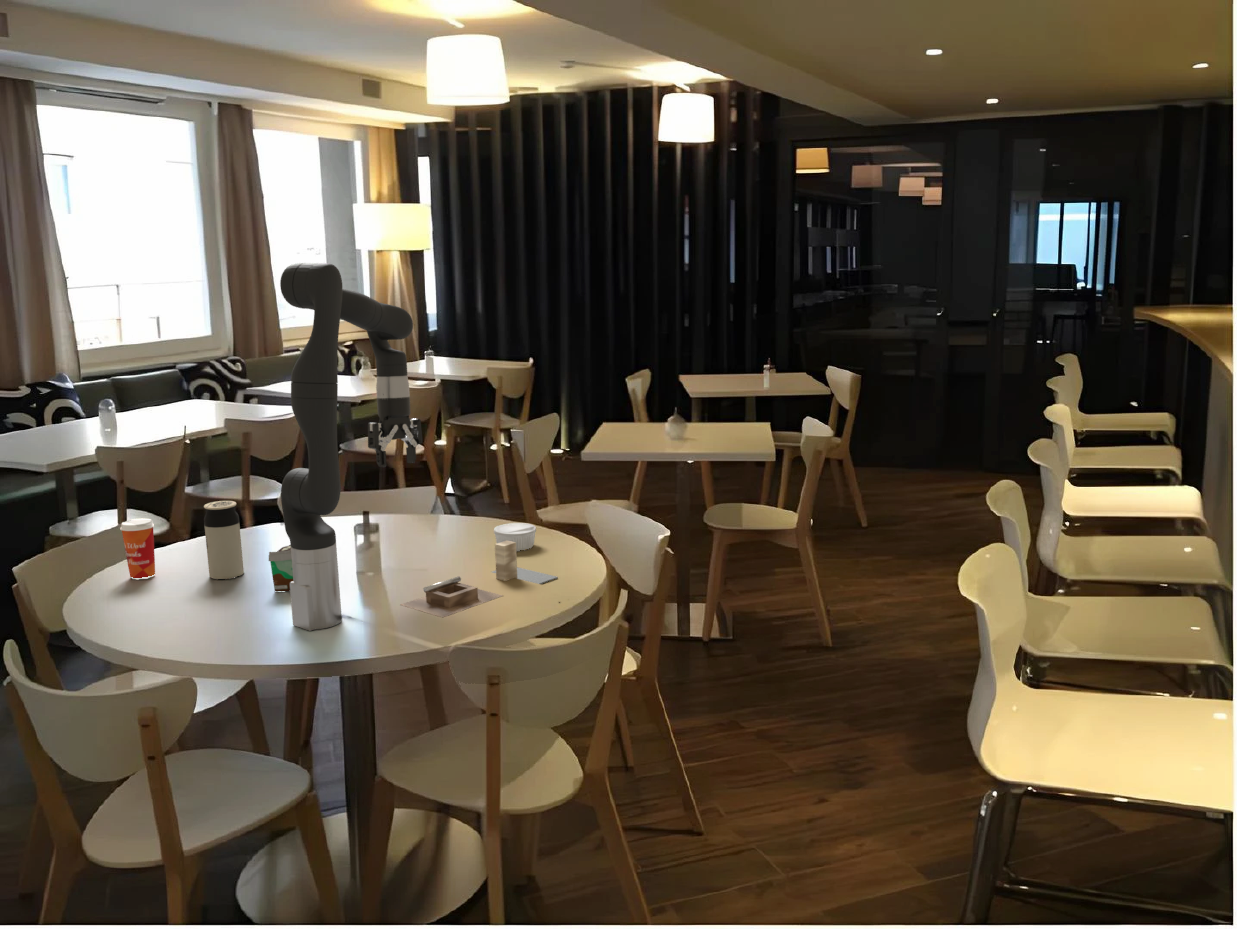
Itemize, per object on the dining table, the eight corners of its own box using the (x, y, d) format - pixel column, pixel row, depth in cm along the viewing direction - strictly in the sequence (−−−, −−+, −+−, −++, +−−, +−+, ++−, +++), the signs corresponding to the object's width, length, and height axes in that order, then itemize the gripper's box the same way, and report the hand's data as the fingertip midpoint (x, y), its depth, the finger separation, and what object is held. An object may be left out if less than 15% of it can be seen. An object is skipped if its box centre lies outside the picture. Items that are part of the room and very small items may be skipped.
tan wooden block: (505, 583, 252) (503, 546, 250) (496, 581, 254) (494, 544, 252) (517, 579, 255) (516, 542, 253) (508, 576, 257) (507, 540, 255)
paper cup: (118, 580, 262) (112, 524, 259) (141, 571, 269) (135, 517, 266) (145, 582, 259) (139, 526, 257) (167, 573, 267) (161, 518, 264)
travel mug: (248, 570, 268) (242, 500, 264) (236, 580, 260) (230, 507, 256) (217, 570, 268) (210, 500, 264) (204, 580, 260) (197, 508, 257)
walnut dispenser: (442, 621, 228) (441, 600, 227) (400, 609, 236) (398, 588, 235) (503, 599, 241) (502, 579, 240) (461, 588, 250) (460, 569, 249)
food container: (295, 595, 247) (292, 553, 245) (271, 594, 249) (267, 552, 247) (320, 579, 259) (317, 539, 257) (297, 578, 260) (294, 538, 258)
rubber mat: (503, 597, 242) (503, 596, 242) (455, 585, 253) (455, 583, 252) (557, 578, 256) (557, 576, 256) (510, 567, 266) (510, 565, 266)
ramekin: (527, 554, 277) (526, 534, 276) (487, 551, 281) (486, 532, 280) (543, 543, 288) (542, 524, 287) (504, 540, 291) (503, 521, 290)
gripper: (379, 397, 242) (383, 469, 244) (427, 394, 253) (430, 462, 255) (358, 397, 247) (362, 467, 249) (406, 393, 258) (410, 461, 260)
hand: (397, 464), depth 252 cm, fingers open, 8 cm apart
